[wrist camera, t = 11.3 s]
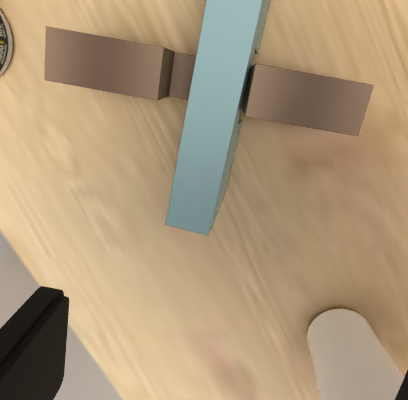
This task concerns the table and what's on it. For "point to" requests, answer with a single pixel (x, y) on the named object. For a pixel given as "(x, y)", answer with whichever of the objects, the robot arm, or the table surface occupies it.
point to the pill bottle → (5, 43)
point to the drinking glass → (350, 359)
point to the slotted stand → (183, 72)
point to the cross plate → (214, 110)
